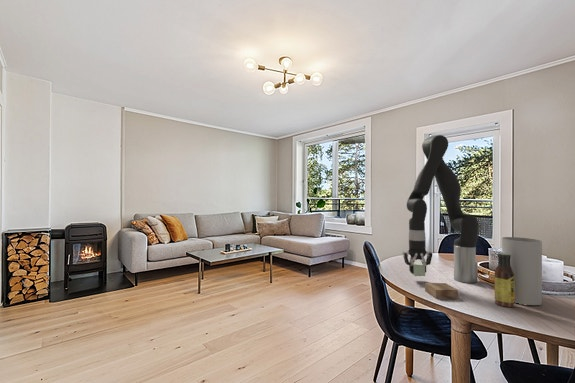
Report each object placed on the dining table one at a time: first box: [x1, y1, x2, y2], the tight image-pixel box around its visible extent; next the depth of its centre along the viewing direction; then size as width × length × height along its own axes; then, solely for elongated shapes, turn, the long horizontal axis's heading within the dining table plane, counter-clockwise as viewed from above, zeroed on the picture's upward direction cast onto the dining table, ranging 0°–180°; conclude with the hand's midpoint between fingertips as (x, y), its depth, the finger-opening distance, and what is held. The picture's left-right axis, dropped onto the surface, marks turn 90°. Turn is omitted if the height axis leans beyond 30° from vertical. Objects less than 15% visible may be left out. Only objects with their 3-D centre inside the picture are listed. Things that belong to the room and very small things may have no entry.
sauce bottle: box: [494, 252, 515, 308], centre depth 110 cm, size 7×6×20 cm
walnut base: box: [424, 282, 459, 300], centre depth 120 cm, size 9×9×4 cm
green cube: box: [410, 262, 426, 277], centre depth 139 cm, size 5×5×5 cm
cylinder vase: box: [501, 236, 543, 306], centre depth 114 cm, size 12×12×25 cm
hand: (417, 273), depth 139 cm, fingers closed on green cube, 5 cm apart
